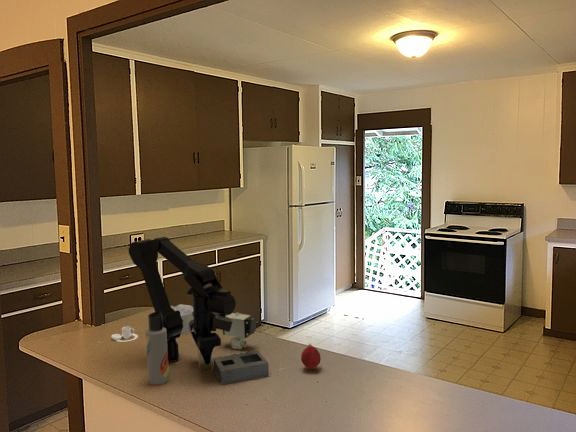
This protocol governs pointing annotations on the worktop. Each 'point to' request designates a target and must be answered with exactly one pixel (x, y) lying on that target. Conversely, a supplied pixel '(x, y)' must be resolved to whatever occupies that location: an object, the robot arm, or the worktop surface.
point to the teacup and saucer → (124, 334)
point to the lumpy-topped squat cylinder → (185, 316)
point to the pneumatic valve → (240, 329)
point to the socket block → (240, 367)
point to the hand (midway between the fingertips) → (205, 359)
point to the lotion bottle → (157, 350)
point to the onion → (310, 357)
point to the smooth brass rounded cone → (202, 365)
